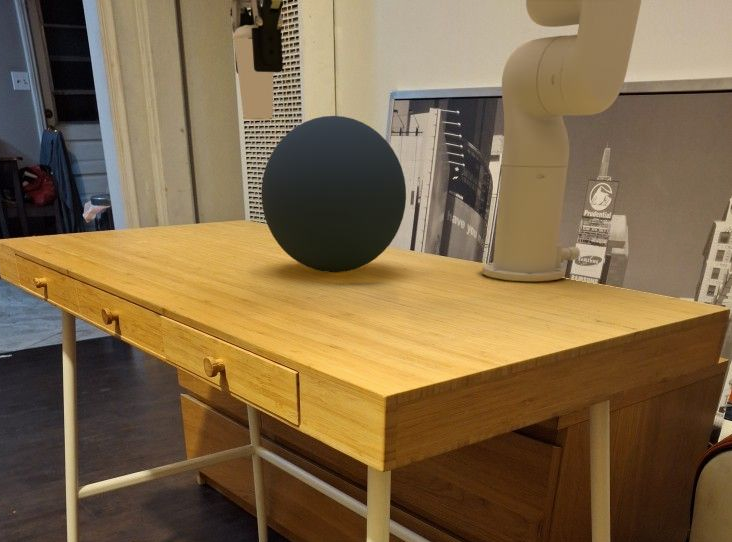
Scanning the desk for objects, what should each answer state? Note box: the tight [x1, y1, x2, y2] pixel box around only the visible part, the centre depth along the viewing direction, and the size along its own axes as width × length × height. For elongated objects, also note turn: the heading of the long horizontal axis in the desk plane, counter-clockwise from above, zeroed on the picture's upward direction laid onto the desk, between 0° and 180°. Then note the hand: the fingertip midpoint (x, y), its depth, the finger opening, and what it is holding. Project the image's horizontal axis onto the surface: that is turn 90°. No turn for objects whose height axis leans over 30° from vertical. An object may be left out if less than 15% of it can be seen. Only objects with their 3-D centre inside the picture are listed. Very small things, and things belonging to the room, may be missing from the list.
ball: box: [260, 115, 407, 274], centre depth 115 cm, size 22×22×22 cm
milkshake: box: [232, 25, 274, 121], centre depth 84 cm, size 4×5×10 cm
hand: (259, 71), depth 84 cm, fingers closed on milkshake, 4 cm apart
